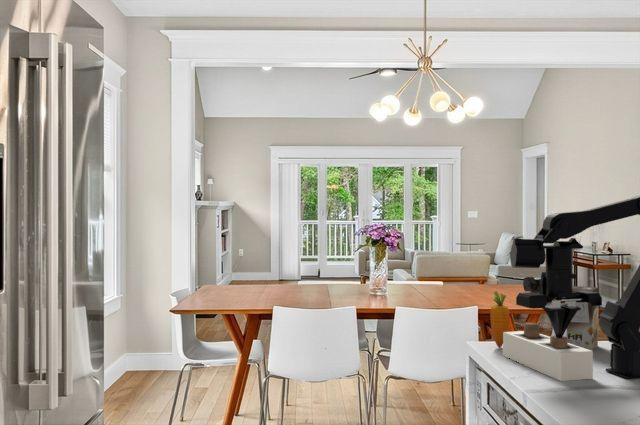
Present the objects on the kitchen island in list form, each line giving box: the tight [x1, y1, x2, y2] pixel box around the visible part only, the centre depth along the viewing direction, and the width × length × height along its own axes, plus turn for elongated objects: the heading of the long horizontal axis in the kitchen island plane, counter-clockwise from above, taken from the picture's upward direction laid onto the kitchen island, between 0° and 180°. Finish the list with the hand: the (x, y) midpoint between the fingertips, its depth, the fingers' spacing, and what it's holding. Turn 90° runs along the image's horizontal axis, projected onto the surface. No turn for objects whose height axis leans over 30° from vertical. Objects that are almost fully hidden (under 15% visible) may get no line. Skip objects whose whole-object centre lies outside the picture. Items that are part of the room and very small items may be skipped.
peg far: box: [523, 322, 541, 339], centre depth 135 cm, size 4×4×6 cm
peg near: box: [549, 335, 568, 349], centre depth 126 cm, size 4×4×6 cm
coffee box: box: [566, 285, 599, 352], centre depth 149 cm, size 9×6×16 cm
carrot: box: [489, 290, 510, 349], centre depth 149 cm, size 5×5×15 cm
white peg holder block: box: [502, 330, 594, 382], centre depth 130 cm, size 22×8×6 cm, turn 14°
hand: (559, 337), depth 126 cm, fingers closed, pressing on peg near
